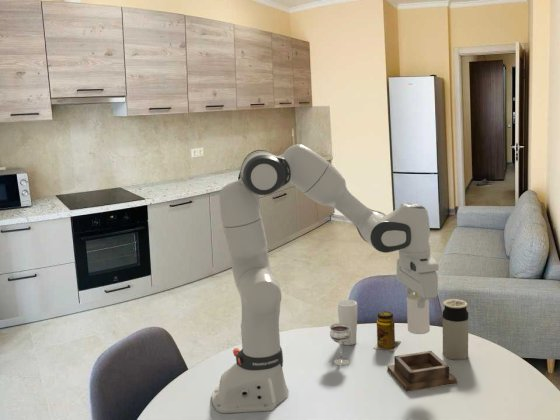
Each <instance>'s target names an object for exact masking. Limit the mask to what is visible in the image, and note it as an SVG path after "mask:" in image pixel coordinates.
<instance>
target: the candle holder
mask: <svg viewBox="0 0 560 420" xmlns="http://www.w3.org/2000/svg"><path fill="white" fill-rule="evenodd" d="M393 359H394V360H393V361H394V364H390V365H389V364H388V365H386V366H387V371H388V372H389V373H390V374H391V376H392V377H393V378H394V379H395V380H396V381H397V383H398V385H400V386H401V387H402V389H403V390H404V391H405V392H414V391H421V390H427V389H431V388H437V387H438V388H439V387H443V386H450V385H455V384H458V378H457V377H456V376H455V375H453V373H451V371H450V365H448V364H447V363H446V362H444V360H442V359H441V358H440V357H439V356H438V355H437V354H436V353H435V352H433V351H432V350H428V351H419V352H415V353H406V354H401V355H395V356H394V357H393Z"/></svg>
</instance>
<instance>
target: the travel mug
mask: <svg viewBox="0 0 560 420" xmlns="http://www.w3.org/2000/svg"><path fill="white" fill-rule="evenodd" d="M443 307H444V309H443V310H442V355H443V356H444V357H446V358H447V359H450V360H456V361H457V360H458V361H459V360H460V361H461V360H463V359H464V360H465V359H466V358H467V357H469V312H468V310H467V307H468V303H467V302H466V300H463V299H455V298H452V299H446V300H444V301H443Z"/></svg>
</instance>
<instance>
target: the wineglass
mask: <svg viewBox="0 0 560 420" xmlns="http://www.w3.org/2000/svg"><path fill="white" fill-rule="evenodd" d="M329 328H330V330H329V337H330V339H331V340H332V341H333V342H335V343H337V344H338V346H339V354H340V355H339V356H340V358H336V359H335V360H333V363H334V364H335V365H337V366H345V365H348V364H350V361H349V359H347V358H343V353H342V351H343V349H342V348H343V345H344V344H343V343H344V342H346V341H347V340H348V339H349V338H350V335H351V332H350V330H349V329H350V326H349V325H347V324H342V323H339V322H338V323H333V324H331V325H330V326H329Z"/></svg>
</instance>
